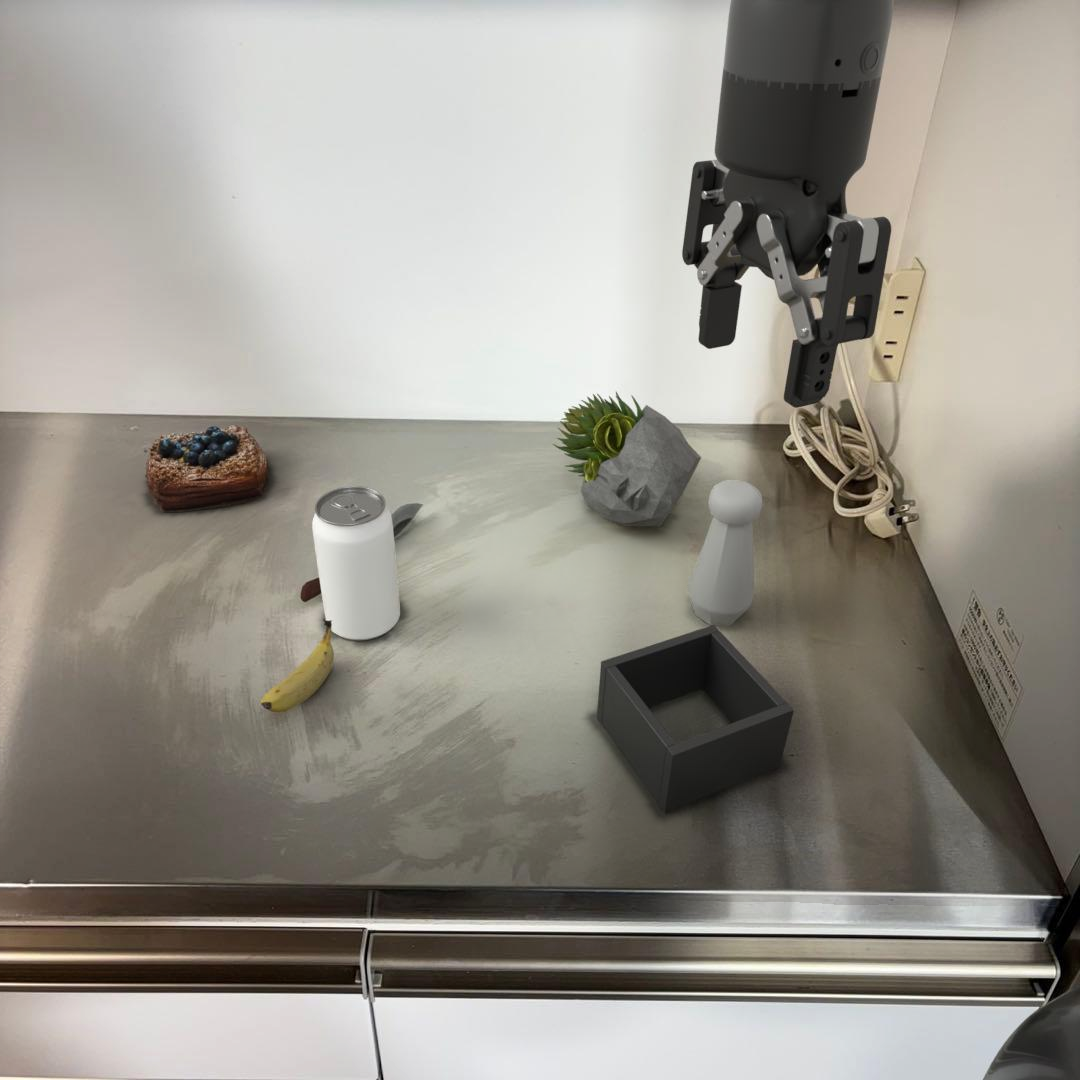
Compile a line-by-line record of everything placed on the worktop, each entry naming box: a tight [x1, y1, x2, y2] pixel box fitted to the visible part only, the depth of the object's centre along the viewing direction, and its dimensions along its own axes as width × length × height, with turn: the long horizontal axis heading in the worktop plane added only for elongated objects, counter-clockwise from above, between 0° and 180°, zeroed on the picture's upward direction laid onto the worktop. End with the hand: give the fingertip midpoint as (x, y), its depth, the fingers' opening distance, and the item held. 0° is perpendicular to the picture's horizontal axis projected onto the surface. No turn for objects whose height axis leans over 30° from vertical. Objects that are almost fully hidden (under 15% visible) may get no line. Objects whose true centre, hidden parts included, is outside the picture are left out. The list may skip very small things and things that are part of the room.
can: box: [311, 485, 401, 642], centre depth 81 cm, size 6×6×12 cm
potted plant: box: [552, 391, 702, 528], centre depth 97 cm, size 12×13×15 cm
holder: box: [596, 625, 795, 814], centre depth 72 cm, size 10×10×6 cm
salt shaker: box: [687, 479, 763, 626], centre depth 83 cm, size 6×6×13 cm
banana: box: [260, 618, 335, 713], centre depth 76 cm, size 10×2×4 cm, turn 162°
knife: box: [300, 502, 424, 603], centre depth 91 cm, size 18×2×3 cm, turn 151°
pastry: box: [145, 424, 269, 513], centre depth 101 cm, size 11×12×6 cm
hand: (757, 372), depth 56 cm, fingers open, 8 cm apart
